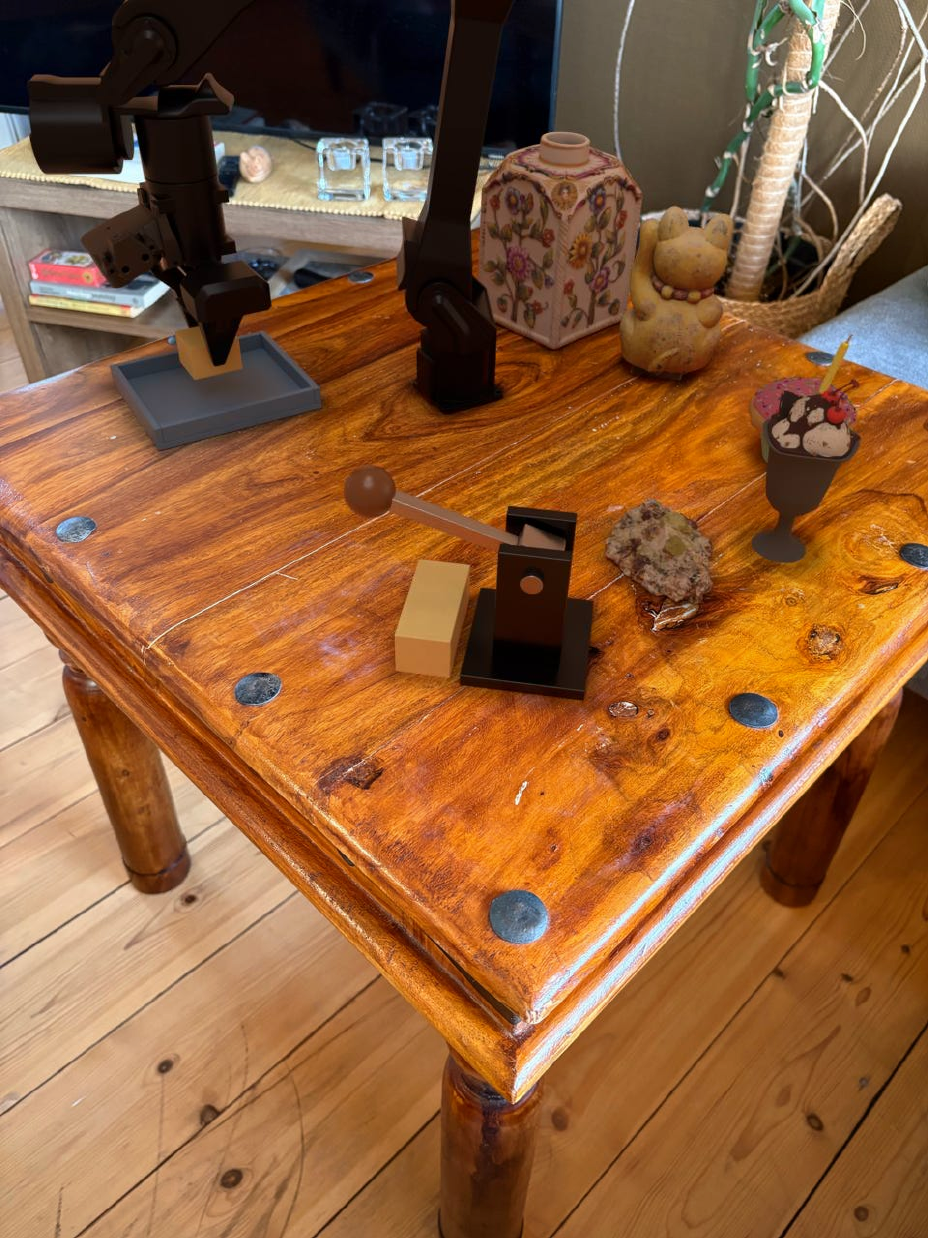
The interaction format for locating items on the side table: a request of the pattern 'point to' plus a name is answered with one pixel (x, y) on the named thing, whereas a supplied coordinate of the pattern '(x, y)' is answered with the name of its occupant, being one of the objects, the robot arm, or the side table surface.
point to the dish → (214, 393)
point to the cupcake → (770, 394)
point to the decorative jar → (558, 239)
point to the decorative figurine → (675, 295)
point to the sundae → (802, 464)
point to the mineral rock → (662, 552)
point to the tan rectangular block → (432, 618)
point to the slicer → (531, 617)
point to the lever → (432, 513)
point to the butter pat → (203, 355)
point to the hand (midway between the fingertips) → (210, 354)
